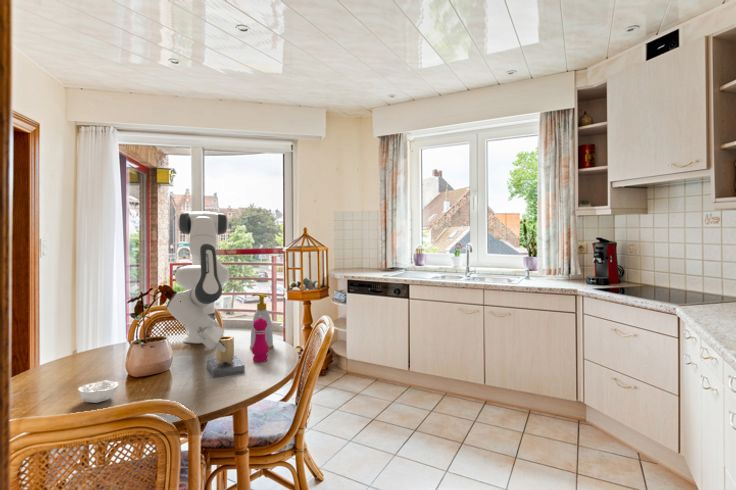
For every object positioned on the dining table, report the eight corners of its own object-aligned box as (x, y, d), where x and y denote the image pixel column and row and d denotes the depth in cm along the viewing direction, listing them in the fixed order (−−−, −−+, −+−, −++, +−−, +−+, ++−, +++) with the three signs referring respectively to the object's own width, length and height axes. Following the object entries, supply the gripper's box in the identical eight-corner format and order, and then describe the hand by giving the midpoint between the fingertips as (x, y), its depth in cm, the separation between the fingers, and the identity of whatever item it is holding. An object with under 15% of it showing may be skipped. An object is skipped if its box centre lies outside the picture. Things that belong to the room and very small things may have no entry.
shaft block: (206, 367, 168) (206, 345, 168) (236, 362, 175) (236, 341, 174) (213, 377, 156) (213, 355, 156) (244, 372, 163) (244, 350, 162)
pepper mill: (264, 363, 174) (264, 317, 173) (248, 362, 175) (248, 316, 174) (271, 358, 181) (271, 313, 180) (256, 356, 182) (256, 313, 182)
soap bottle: (261, 343, 204) (261, 291, 203) (278, 346, 198) (278, 293, 197) (244, 348, 195) (244, 294, 194) (261, 352, 189) (261, 297, 188)
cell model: (89, 394, 140) (89, 375, 140) (125, 394, 141) (125, 375, 140) (69, 407, 130) (69, 387, 130) (108, 407, 130) (108, 386, 130)
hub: (218, 357, 168) (218, 336, 167) (234, 356, 169) (234, 335, 169) (215, 362, 161) (215, 340, 161) (232, 361, 163) (232, 339, 162)
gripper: (202, 325, 153) (229, 349, 155) (211, 314, 173) (235, 335, 175) (189, 337, 152) (217, 361, 155) (200, 325, 172) (224, 346, 175)
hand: (226, 347), depth 165 cm, fingers closed on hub, 6 cm apart
